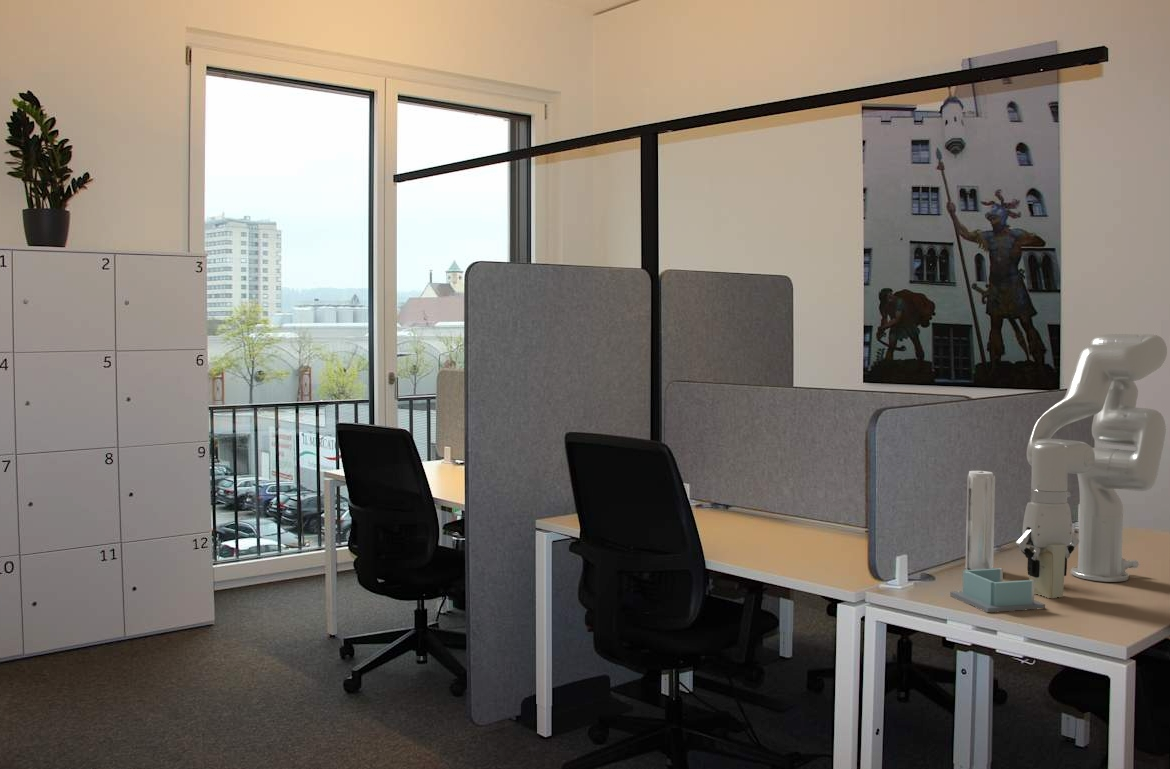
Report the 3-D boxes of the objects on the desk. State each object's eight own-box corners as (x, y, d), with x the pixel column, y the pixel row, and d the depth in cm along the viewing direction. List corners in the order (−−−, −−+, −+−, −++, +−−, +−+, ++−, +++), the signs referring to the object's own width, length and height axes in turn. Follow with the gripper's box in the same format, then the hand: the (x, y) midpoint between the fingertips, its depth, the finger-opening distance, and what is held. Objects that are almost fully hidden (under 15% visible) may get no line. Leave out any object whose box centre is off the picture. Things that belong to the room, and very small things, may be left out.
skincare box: (1028, 592, 230) (1029, 540, 229) (1042, 590, 232) (1043, 538, 231) (1050, 599, 224) (1052, 545, 224) (1065, 597, 226) (1066, 544, 225)
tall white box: (995, 574, 247) (997, 473, 246) (967, 572, 249) (969, 473, 247) (990, 567, 254) (992, 470, 252) (963, 566, 255) (965, 469, 254)
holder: (1004, 592, 230) (1005, 566, 230) (1045, 608, 217) (1045, 581, 216) (950, 595, 227) (950, 569, 227) (987, 612, 214) (988, 585, 213)
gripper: (1070, 493, 232) (1068, 569, 233) (1004, 496, 229) (1003, 573, 230) (1093, 498, 225) (1091, 577, 226) (1026, 501, 221) (1024, 581, 222)
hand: (1047, 574), depth 228 cm, fingers open, 6 cm apart
